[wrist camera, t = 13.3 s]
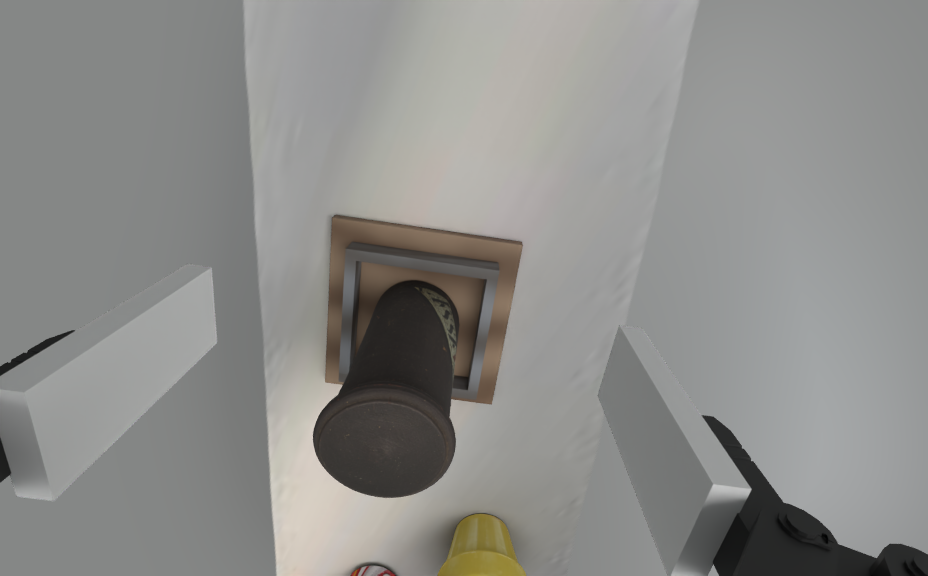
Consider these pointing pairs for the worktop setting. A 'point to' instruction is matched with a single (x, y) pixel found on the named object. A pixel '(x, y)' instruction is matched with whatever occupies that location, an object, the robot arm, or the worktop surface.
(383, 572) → the soda can
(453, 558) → the plant pot
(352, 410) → the container
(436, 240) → the collar stand
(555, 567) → the worktop surface
